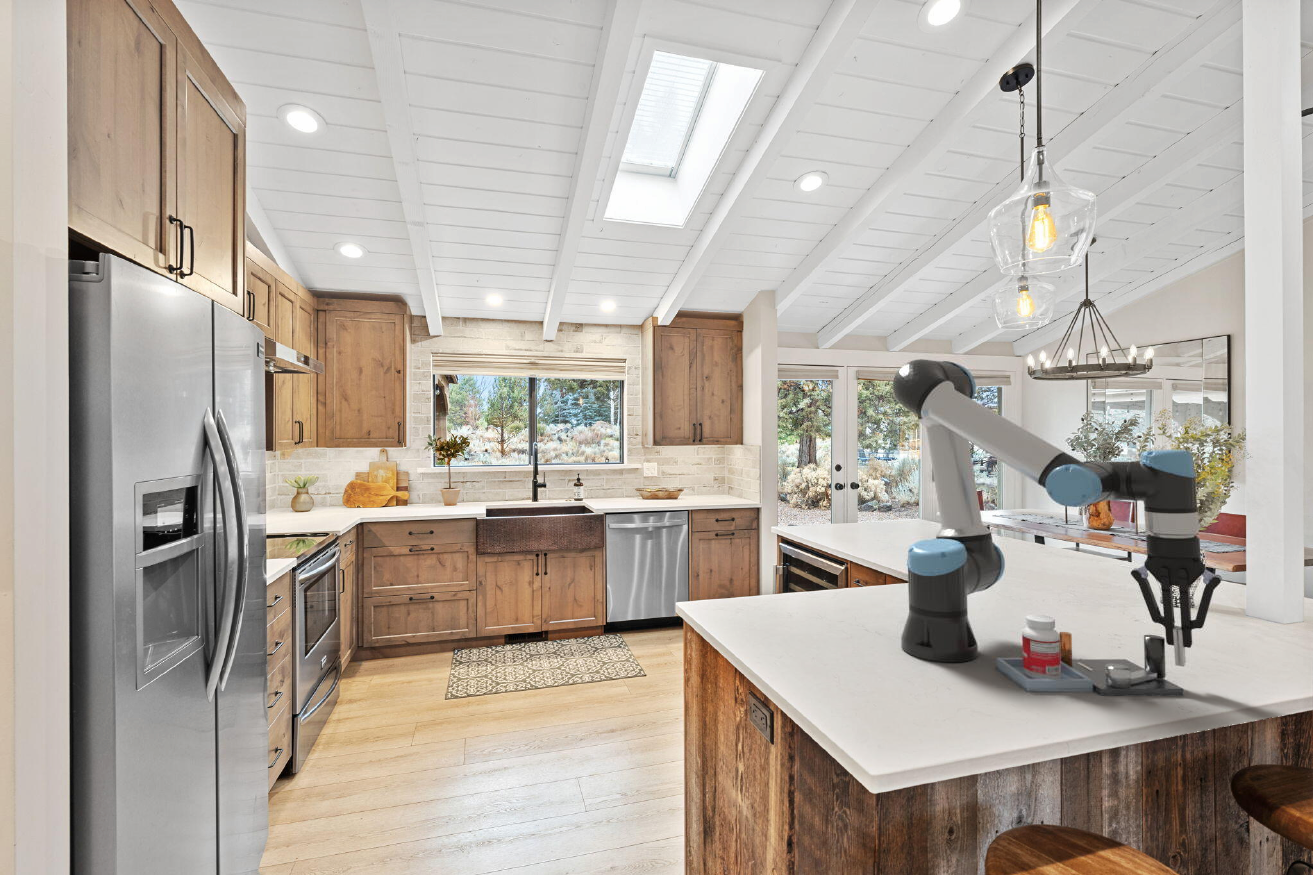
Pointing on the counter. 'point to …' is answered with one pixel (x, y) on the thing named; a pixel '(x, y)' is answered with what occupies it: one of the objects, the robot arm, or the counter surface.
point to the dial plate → (1097, 673)
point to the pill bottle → (1041, 648)
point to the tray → (1066, 683)
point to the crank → (1153, 665)
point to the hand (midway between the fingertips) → (1180, 663)
